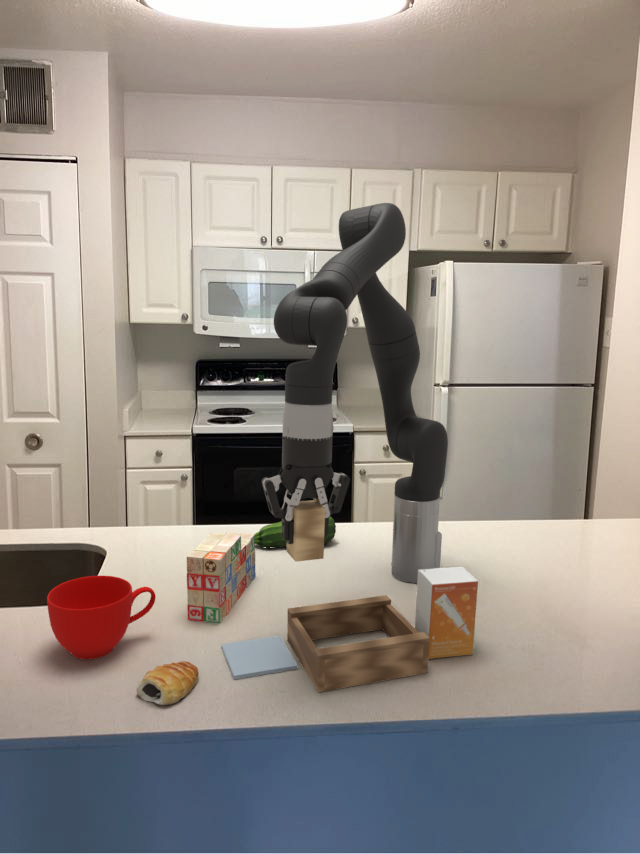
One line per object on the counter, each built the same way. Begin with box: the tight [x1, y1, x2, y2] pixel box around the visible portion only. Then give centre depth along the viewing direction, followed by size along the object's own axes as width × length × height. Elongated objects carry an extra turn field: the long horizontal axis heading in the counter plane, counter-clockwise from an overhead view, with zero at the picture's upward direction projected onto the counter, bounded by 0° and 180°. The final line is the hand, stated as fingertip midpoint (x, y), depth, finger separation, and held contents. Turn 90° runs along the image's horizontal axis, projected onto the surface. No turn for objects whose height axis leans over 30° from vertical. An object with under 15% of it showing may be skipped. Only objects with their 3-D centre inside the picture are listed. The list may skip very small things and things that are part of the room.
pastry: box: [136, 660, 199, 706], centre depth 101 cm, size 9×7×4 cm
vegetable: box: [254, 515, 337, 549], centre depth 159 cm, size 7×7×20 cm
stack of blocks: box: [186, 531, 256, 624], centre depth 131 cm, size 21×6×12 cm, turn 168°
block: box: [286, 499, 325, 562], centre depth 105 cm, size 4×4×8 cm
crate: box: [286, 594, 430, 693], centre depth 110 cm, size 18×16×6 cm
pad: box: [220, 635, 298, 680], centre depth 110 cm, size 10×10×1 cm
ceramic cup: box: [46, 575, 156, 660], centre depth 112 cm, size 13×17×10 cm
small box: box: [414, 566, 479, 660], centre depth 113 cm, size 8×6×13 cm
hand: (304, 540), depth 106 cm, fingers closed on block, 4 cm apart
